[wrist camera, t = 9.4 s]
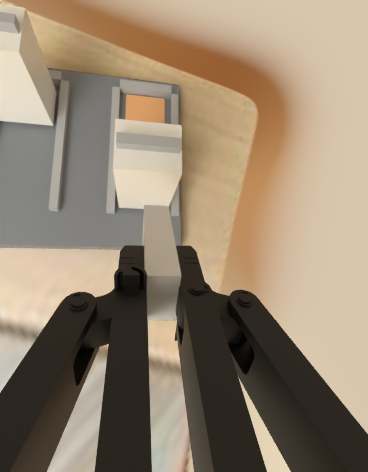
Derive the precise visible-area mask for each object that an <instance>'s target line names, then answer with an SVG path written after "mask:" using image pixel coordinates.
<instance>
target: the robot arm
mask: <svg viewBox="0 0 368 472" xmlns="http://www.w3.org/2000/svg"><path fill="white" fill-rule="evenodd" d="M114 283H115V288H114V290H112V291H111V292H110V293H108V294H106V295H103V296H100V297H96V298H95V297H94V296H93V295H92V294H90V293H87V292H77V293H73V294H71V295H69V296H67V297H66V298H65V299H64V300H63V301H62V302H61V303H60V305H59V306H58V308H57V309H56V311H55V312H54V314H53V315H52V317H51V318H50V320H49V321H48V323H47V324H46V326H45V327H44V329H43V330H42V332H41V333H40V335H39V336H38V338H37V339H36V341H35V342H34V344H33V345H32V346H31V348H30V349H29V351H28V352H27V354H26V355H25V357H24V358H23V360H22V361H21V363H20V364H19V366H18V367H17V369H16V370H15V372H14V373H13V375H12V376H11V378H10V379H9V381H8V382H7V384H6V385H5V387H4V388H3V390H2V391H1V393H0V472H47V469H48V467H49V465H50V462H51V460H52V458H53V455H54V453H55V451H56V448H57V446H58V444H59V441H60V439H61V437H62V434H63V432H64V429H65V427H66V425H67V422H68V420H69V418H70V415H71V413H72V411H73V408H74V406H75V404H76V401H77V399H78V397H79V394H80V392H81V390H82V387H83V385H84V383H85V380H86V378H87V375H88V373H89V371H90V368H91V366H92V364H93V361H94V359H95V357H96V354H97V352H98V350H99V347H100V346H103V345H106V344H109V347H108V356H107V365H106V374H105V383H104V393H103V402H102V411H101V420H100V429H99V438H98V447H97V456H96V465H95V472H152V463H151V428H150V393H149V358H148V323H147V321H162V320H175V318H176V316H177V327H176V333H175V341H177V340H178V348H179V356H180V364H181V372H182V380H183V387H184V395H185V403H186V411H187V419H188V427H189V434H190V442H191V450H192V457H193V466H194V472H267V471H266V467H265V464H264V461H263V458H262V454H261V451H260V448H259V444H258V441H257V438H256V435H255V431H254V428H253V425H252V421H251V418H250V415H249V411H248V408H247V405H246V402H245V398H244V395H243V392H242V388H241V385H240V382H239V379H240V380H241V382H242V384H243V386H244V388H245V390H246V391H247V393H248V395H249V397H250V399H251V400H252V402H253V404H254V405H255V408H256V409H257V411H258V413H259V415H260V417H261V418H262V420H263V422H264V424H265V426H266V427H267V429H268V431H269V433H270V435H271V436H272V438H273V440H274V442H275V443H276V445H277V447H278V449H279V451H280V452H281V454H282V456H283V458H284V460H285V462H286V463H287V465H288V467H289V469H290V471H291V472H368V434H367V433H366V432H365V431H364V429H363V428H362V427H361V426H360V424H359V423H358V422H357V421H356V419H355V418H354V417H353V416H352V415H351V413H350V412H349V411H348V409H347V408H346V407H345V406H344V404H343V403H342V402H341V401H340V399H339V398H338V397H337V396H336V395H335V393H334V392H333V391H332V390H331V388H330V387H329V386H328V385H327V384H326V382H325V381H324V380H323V378H322V377H321V376H320V375H319V374H318V372H317V371H316V370H315V369H314V367H313V366H312V365H311V364H310V363H309V361H308V360H307V359H306V357H305V356H304V355H303V354H302V352H301V351H300V350H299V349H298V347H296V345H295V344H294V343H293V341H292V340H291V339H290V338H289V336H288V335H287V334H286V333H285V331H284V330H283V329H282V328H281V326H280V325H279V324H278V323H277V321H276V320H275V319H274V318H273V317H272V315H271V314H270V313H269V312H268V310H267V309H266V308H265V307H264V305H263V304H262V303H261V302H260V300H259V299H258V298H257V297H256V296H255V295H254V294H252V293H250V292H248V291H245V290H236V291H233V292H232V293H231V294H230V296H226V295H222V294H219V293H216V292H214V291H212V290H211V288H210V286H209V285H208V284H207V283H205V281H204V277H203V274H202V270H201V267H200V264H199V260H198V256H197V253H196V251H195V250H194V249H193V248H192V247H191V246H176V244H175V239H174V233H173V228H172V223H171V217H170V212H169V207H168V206H159V205H144V214H143V239H142V246H138V245H125V246H124V247H123V248H122V249H121V251H120V259H119V267H118V270H117V271H116V272H115V275H114ZM238 377H239V379H238Z"/></svg>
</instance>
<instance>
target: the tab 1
mask: <svg viewBox="0 0 368 472" xmlns="http://www.w3.org/2000/svg"><path fill="white" fill-rule="evenodd" d="M55 103H56V90H55V87H54V85H53V82H52V79H51V76H50V74H49V71H48V68H47V66H46V63H45V60H44V58H43V55H42V52H41V50H40V47H39V44H38V42H37V39H36V36H35V34H34V31H33V28H32V26H31V23H30V20H29V18H28V15H27V12H26V10H25V8H21V7H14V6H8V5H2V4H0V121H7V122H17V123H28V124H39V125H50V126H53V123H54V113H55Z"/></svg>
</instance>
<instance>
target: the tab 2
mask: <svg viewBox="0 0 368 472" xmlns="http://www.w3.org/2000/svg"><path fill="white" fill-rule="evenodd" d="M113 173H114V179H115V186H116V192H117V199H118V205H119V208H134V209H144V205H159V206H168V207H169V205H170V202H171V200H172V198H173V195H174V193H175V190H176V188H177V185H178V183H179V180H180V178H181V176H182V125H174V124H164V123H154V122H144V121H135V120H125V119H115V134H114V155H113Z"/></svg>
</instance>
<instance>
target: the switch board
mask: <svg viewBox="0 0 368 472" xmlns="http://www.w3.org/2000/svg"><path fill="white" fill-rule="evenodd" d="M48 71H49V74H50V76H51V79H52V82H53V85H54V87H55V90H56V103H55V113H54V123H53V126H50V125H39V124H28V123H17V122H7V121H0V248H57V249H113V250H121V249H122V248H123V247H124V246H125V245H138V246H142V239H143V214H144V209H134V208H119V205H118V199H117V192H116V186H115V179H114V173H113V155H114V134H115V119H125V120H135V121H144V122H154V123H164V124H174V125H180V96H179V85H176V84H168V83H160V82H153V81H145V80H137V79H129V78H121V77H113V76H106V75H98V74H90V73H82V72H74V71H67V70H59V69H51V68H48ZM169 212H170V217H171V223H172V228H173V233H174V239H175V244H176V246H181V204H180V180H179V183H178V185H177V188H176V190H175V193H174V195H173V198H172V200H171V202H170V205H169Z"/></svg>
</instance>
